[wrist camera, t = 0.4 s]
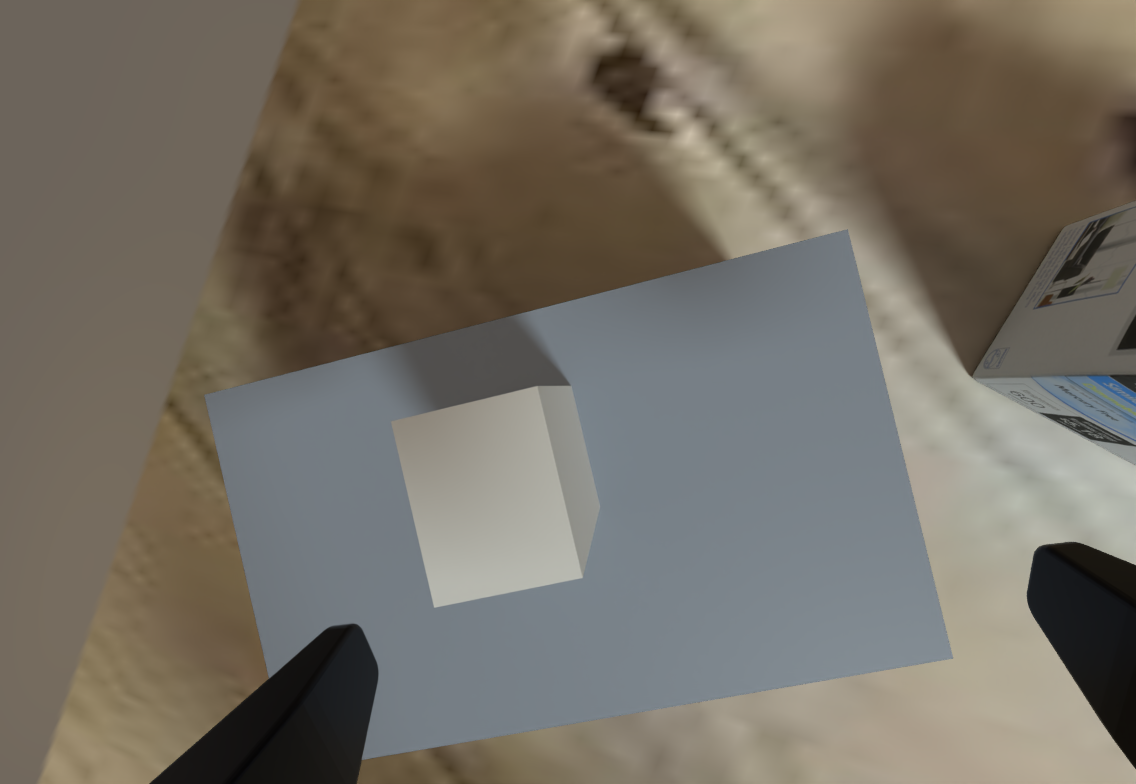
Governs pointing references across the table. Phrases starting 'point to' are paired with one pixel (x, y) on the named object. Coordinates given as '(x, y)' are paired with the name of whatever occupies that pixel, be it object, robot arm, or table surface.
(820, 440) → the carton lid
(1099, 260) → the light bulb box
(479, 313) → the table surface
